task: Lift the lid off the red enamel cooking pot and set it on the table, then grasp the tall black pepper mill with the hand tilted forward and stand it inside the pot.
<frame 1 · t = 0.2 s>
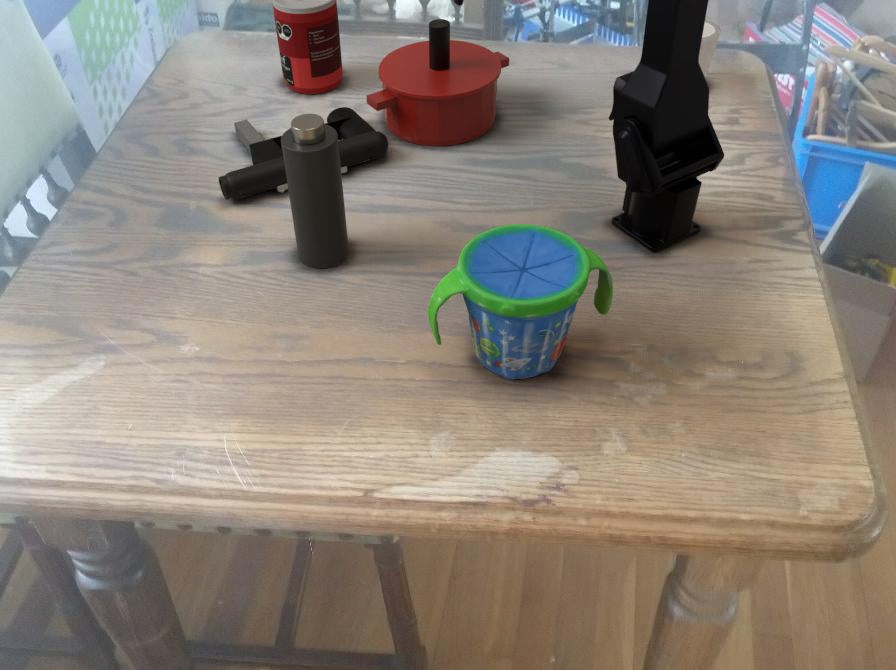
pot: (439, 117, 106), on the table
lid: (439, 70, 102), point 6 cm above the table, touching pot
pepper mill: (323, 253, 88), on the table
snack cup: (516, 355, 77), on the table
door handle: (291, 157, 102), on the table
red can: (313, 83, 114), on the table
off-white short cylinder: (679, 85, 109), on the table
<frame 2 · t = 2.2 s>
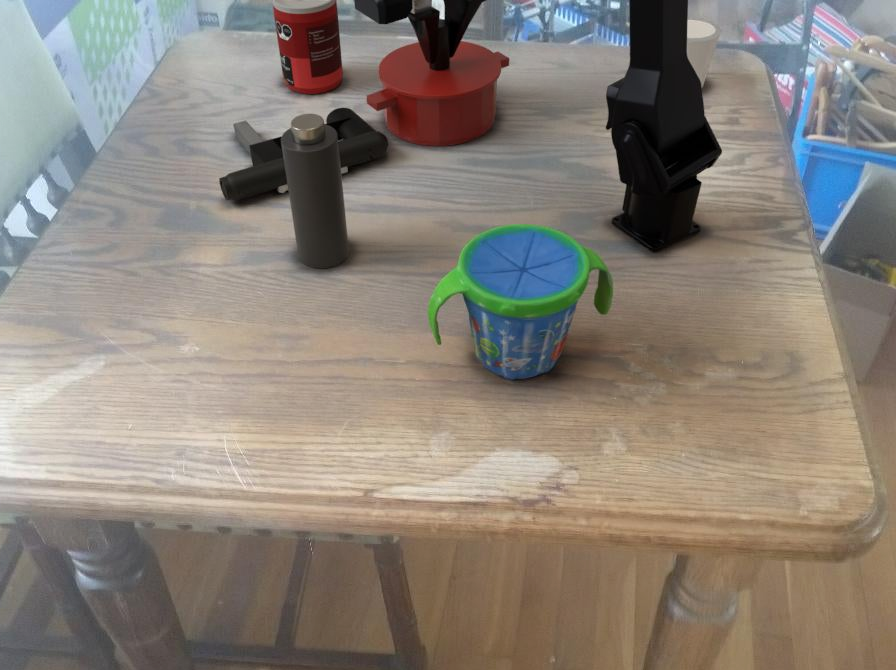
hand: (439, 59, 101), 7 cm above the table, tool pointing down, fingers closed on lid, 2 cm apart
lid: (439, 70, 102), point 6 cm above the table, touching gripper, pot
everything else where it was.
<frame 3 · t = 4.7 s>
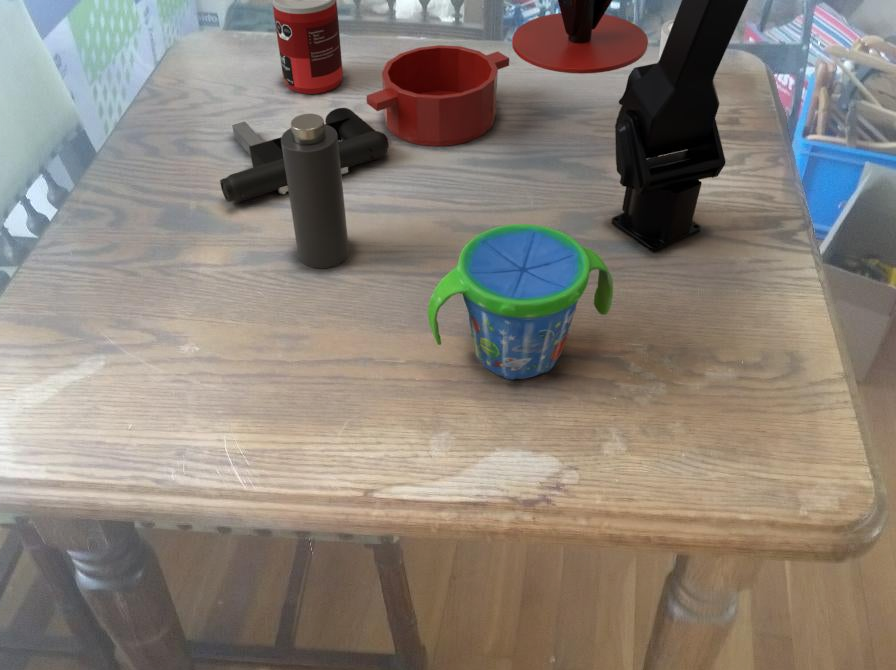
hand: (580, 31, 93), 12 cm above the table, tool pointing down, fingers closed on lid, 2 cm apart
lid: (578, 43, 94), point 11 cm above the table, touching gripper
everything else where it was.
when the fingers open (2 cm above the table, at t = 7.3 s): lid stays where it is, point 1 cm above the table.
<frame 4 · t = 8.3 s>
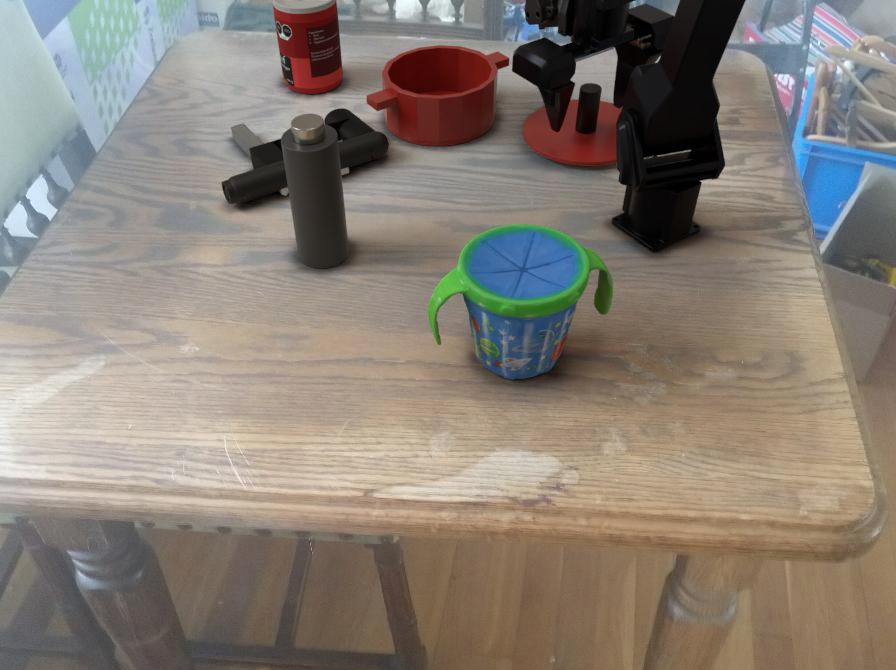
hand: (586, 118, 99), 2 cm above the table, tool pointing down, fingers open, 9 cm apart
lid: (585, 133, 101), point 1 cm above the table
everything else where it was.
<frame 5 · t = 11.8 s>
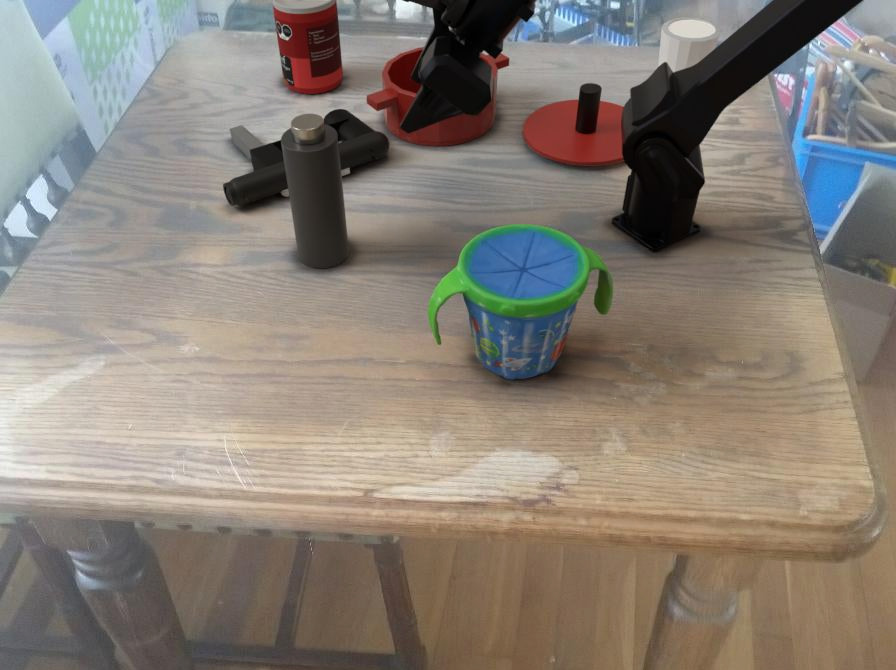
hand: (409, 104, 83), 12 cm above the table, tool tilted 40°, fingers open, 9 cm apart
nothing on the table moved.
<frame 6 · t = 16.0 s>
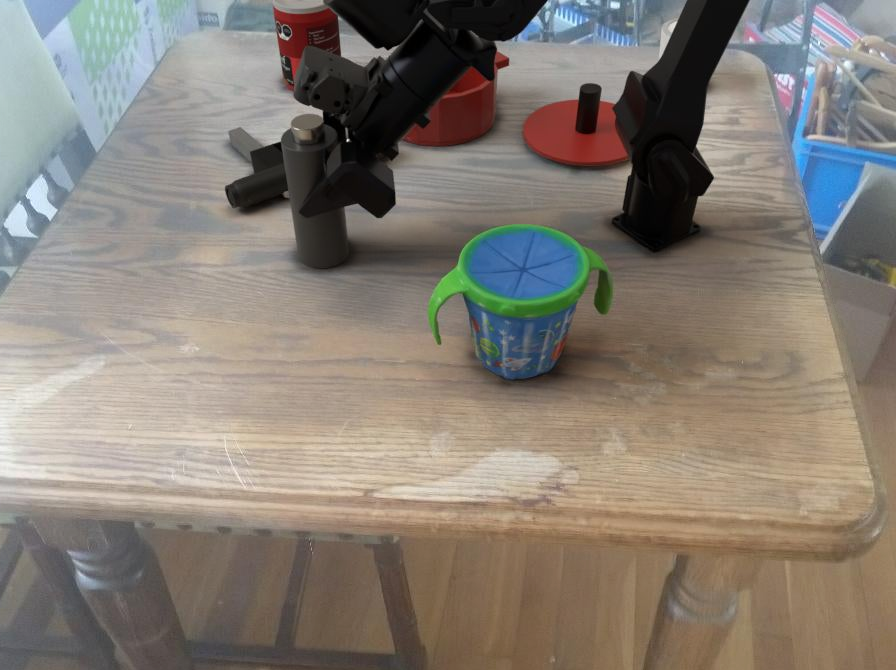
hand: (302, 198, 83), 7 cm above the table, tool tilted 45°, fingers closed on pepper mill, 5 cm apart
pepper mill: (323, 253, 88), on the table, touching gripper
when the fingers open (7 cm above the table, at t = 23.8 s): pepper mill stays where it is, resting on pot.
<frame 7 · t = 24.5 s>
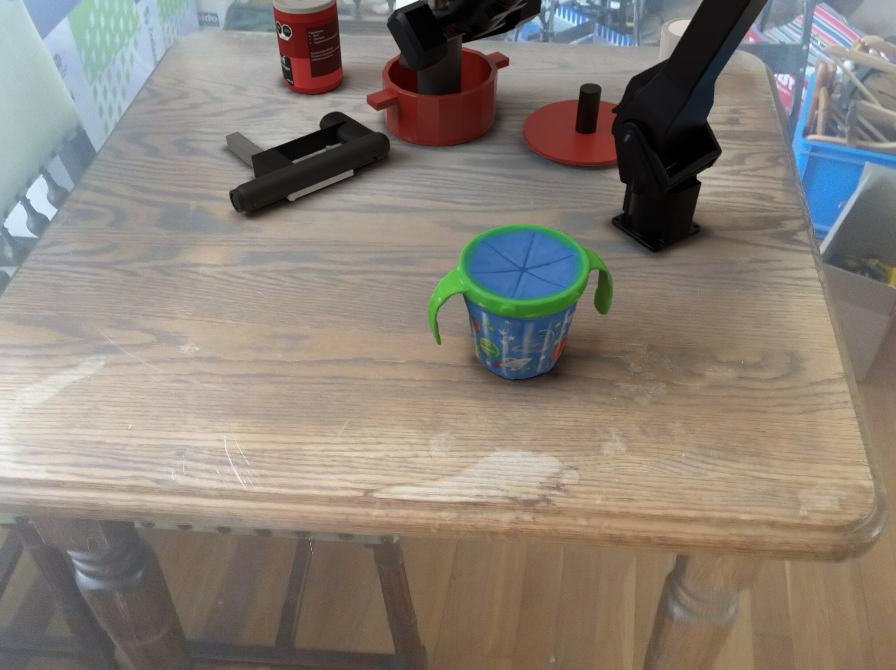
hand: (431, 52, 101), 8 cm above the table, tool tilted 45°, fingers open, 9 cm apart
pepper mill: (439, 114, 105), resting on pot
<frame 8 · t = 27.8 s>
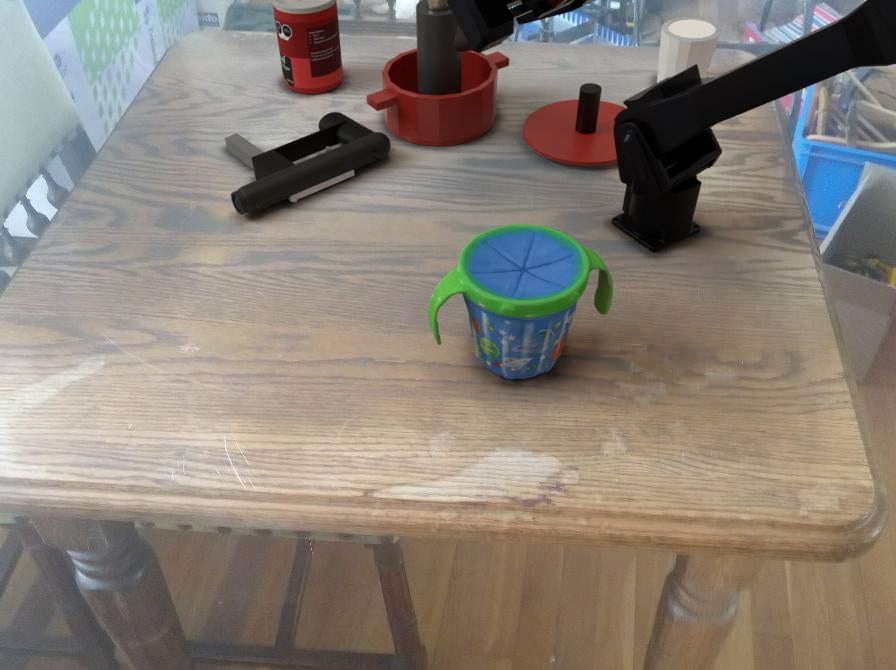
hand: (487, 33, 93), 13 cm above the table, tool tilted 45°, fingers open, 9 cm apart
at the end: lid inside the target area (0.0 cm from its centre), point 0.6 cm above the table; pepper mill inside the target area in the pot (0.1 cm from its centre), point 0.5 cm above the pot's base; pepper mill tilted 0° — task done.
